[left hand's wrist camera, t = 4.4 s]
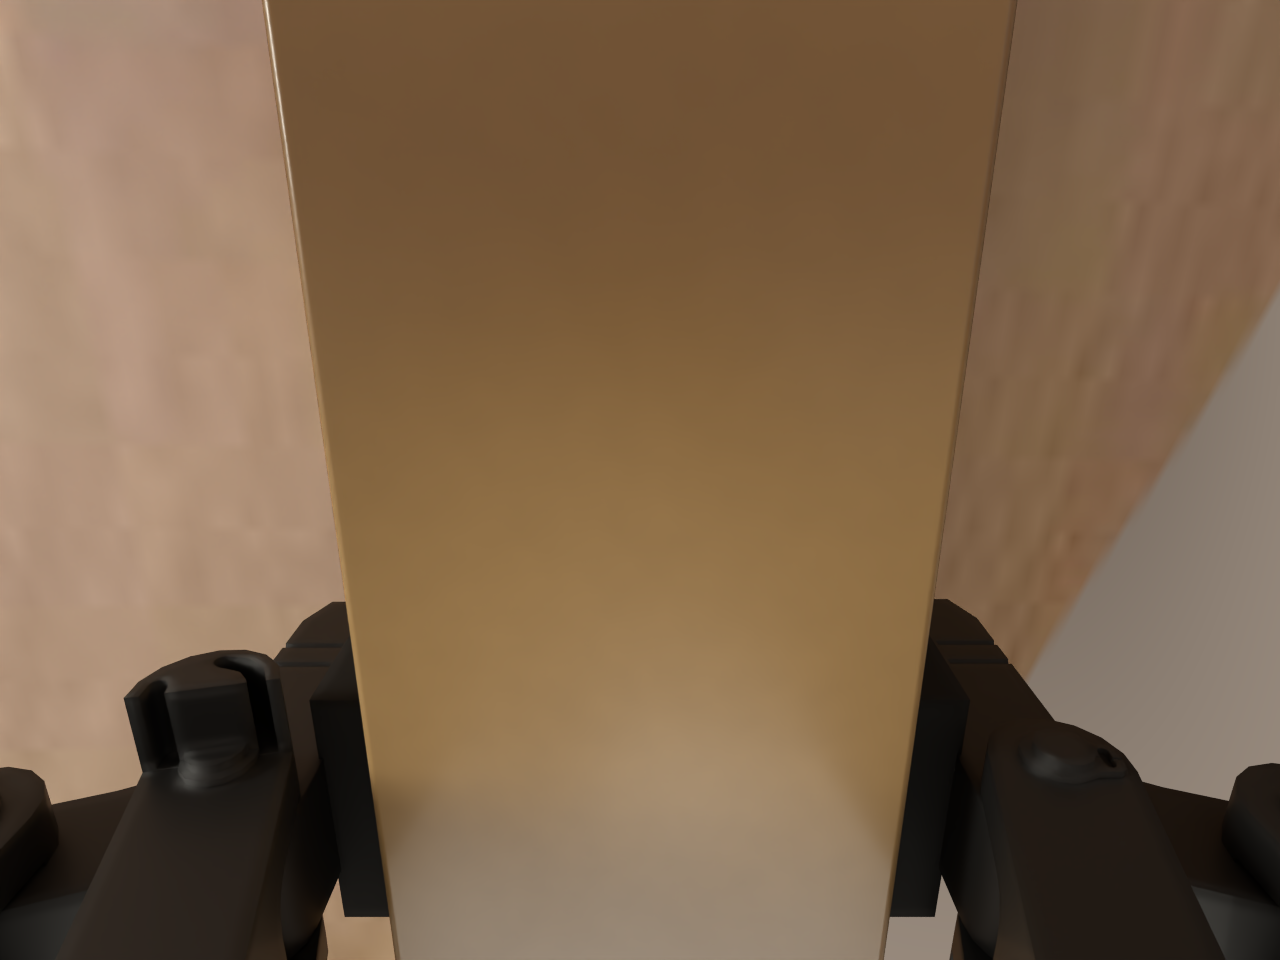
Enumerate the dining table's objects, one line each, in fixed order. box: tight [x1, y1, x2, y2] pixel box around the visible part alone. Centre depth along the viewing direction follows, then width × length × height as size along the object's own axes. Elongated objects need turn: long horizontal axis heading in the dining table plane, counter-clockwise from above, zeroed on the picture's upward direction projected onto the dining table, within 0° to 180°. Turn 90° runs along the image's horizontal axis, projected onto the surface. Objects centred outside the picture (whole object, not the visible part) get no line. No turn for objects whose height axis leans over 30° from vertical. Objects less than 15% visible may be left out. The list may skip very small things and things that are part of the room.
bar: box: [262, 0, 1017, 960], centre depth 9 cm, size 21×5×8 cm, turn 0°
